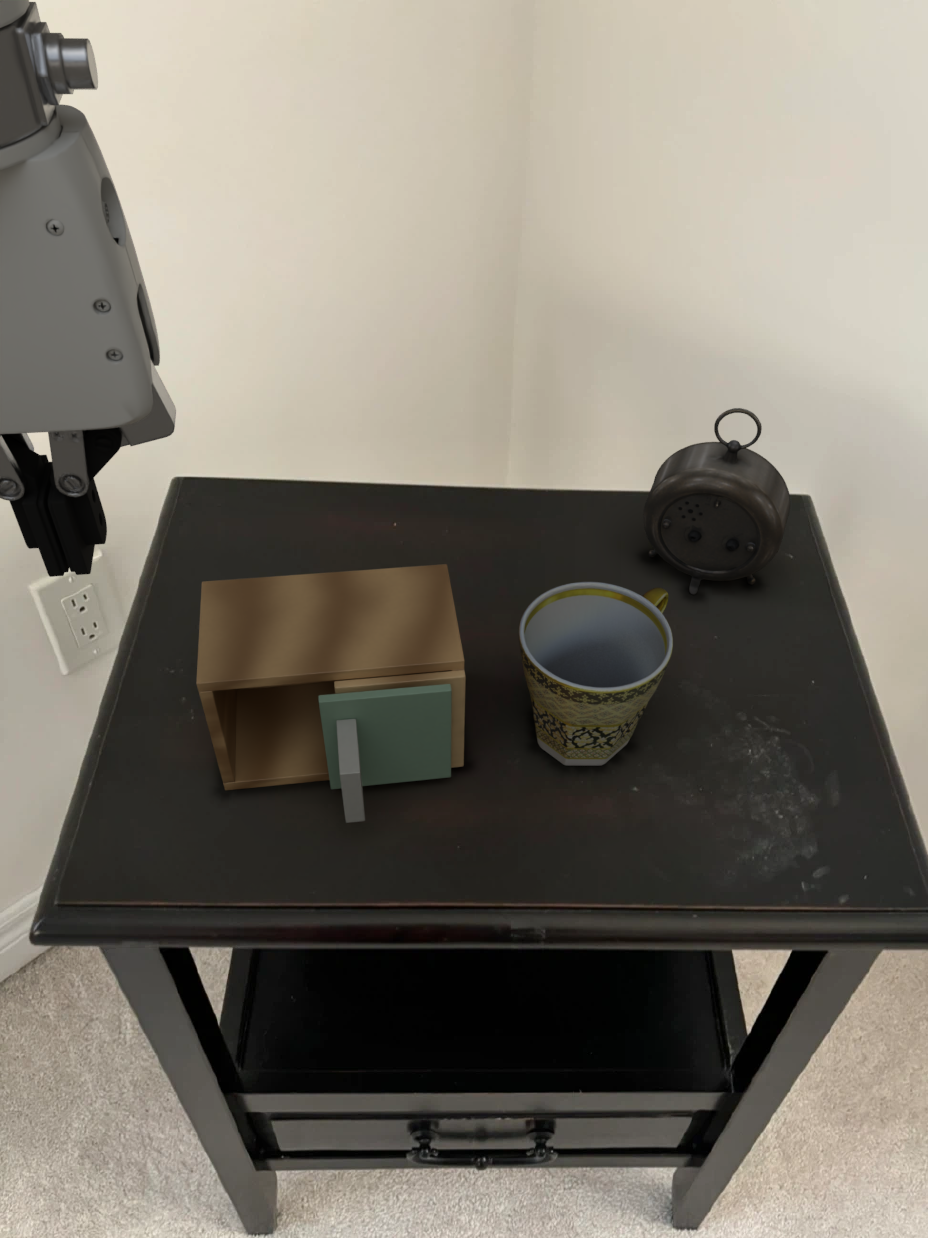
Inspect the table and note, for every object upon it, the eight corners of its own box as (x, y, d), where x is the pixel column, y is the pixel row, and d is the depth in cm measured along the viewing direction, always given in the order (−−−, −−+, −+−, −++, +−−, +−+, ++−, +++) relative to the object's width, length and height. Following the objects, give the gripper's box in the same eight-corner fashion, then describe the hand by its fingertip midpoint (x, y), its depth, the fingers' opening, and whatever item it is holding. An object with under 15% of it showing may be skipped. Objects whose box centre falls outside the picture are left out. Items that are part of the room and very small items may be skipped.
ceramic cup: (589, 813, 69) (606, 716, 62) (482, 731, 73) (486, 631, 66) (702, 709, 76) (730, 611, 68) (598, 640, 80) (614, 540, 73)
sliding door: (333, 843, 65) (321, 758, 59) (330, 782, 68) (318, 694, 62) (459, 830, 66) (460, 744, 60) (450, 770, 70) (450, 683, 63)
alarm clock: (769, 575, 86) (822, 406, 74) (758, 617, 83) (812, 447, 71) (643, 542, 88) (674, 373, 76) (627, 582, 85) (657, 411, 73)
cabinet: (224, 798, 68) (195, 691, 60) (227, 690, 75) (201, 581, 67) (463, 773, 71) (465, 667, 63) (446, 671, 77) (447, 563, 69)
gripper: (180, 42, 34) (252, 490, 48) (-320, 37, 32) (-94, 509, 45) (168, 129, 29) (253, 601, 43) (-424, 131, 27) (-136, 629, 41)
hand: (74, 553), depth 44 cm, fingers closed
